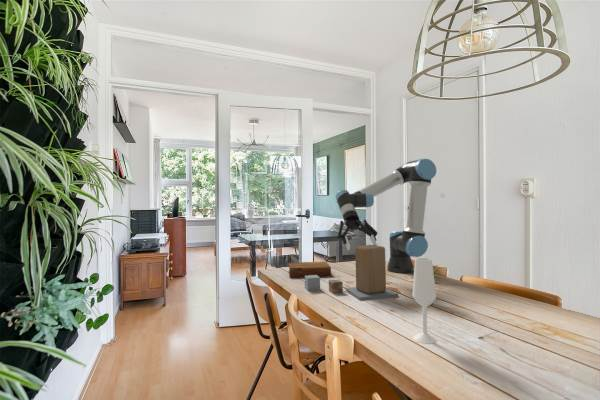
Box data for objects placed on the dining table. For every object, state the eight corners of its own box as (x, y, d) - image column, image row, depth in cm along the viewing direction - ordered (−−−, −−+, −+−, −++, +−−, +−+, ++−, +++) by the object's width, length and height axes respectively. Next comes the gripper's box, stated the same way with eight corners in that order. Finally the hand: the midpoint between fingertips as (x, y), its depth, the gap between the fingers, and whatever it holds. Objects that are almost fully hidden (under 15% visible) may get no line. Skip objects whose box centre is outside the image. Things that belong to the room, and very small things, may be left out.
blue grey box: (316, 287, 168) (316, 274, 168) (320, 290, 162) (320, 277, 162) (304, 288, 167) (304, 275, 167) (307, 291, 161) (307, 278, 161)
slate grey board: (381, 287, 164) (381, 285, 164) (398, 296, 148) (398, 293, 148) (345, 290, 160) (345, 288, 160) (359, 300, 144) (359, 297, 144)
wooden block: (355, 289, 157) (354, 245, 157) (373, 287, 161) (372, 244, 161) (368, 295, 148) (367, 248, 148) (386, 292, 152) (386, 246, 152)
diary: (289, 279, 189) (289, 268, 189) (288, 272, 208) (288, 262, 208) (331, 277, 191) (330, 266, 191) (326, 270, 209) (325, 261, 209)
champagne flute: (421, 332, 108) (419, 256, 108) (441, 339, 102) (439, 258, 103) (408, 338, 104) (407, 258, 104) (429, 345, 98) (427, 261, 98)
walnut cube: (339, 290, 162) (338, 279, 162) (342, 292, 157) (342, 281, 157) (328, 290, 161) (328, 280, 161) (332, 293, 156) (332, 282, 156)
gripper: (370, 218, 181) (384, 251, 166) (325, 220, 175) (335, 254, 161) (374, 208, 176) (389, 241, 161) (328, 210, 170) (339, 244, 155)
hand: (362, 248), depth 161 cm, fingers open, 13 cm apart
